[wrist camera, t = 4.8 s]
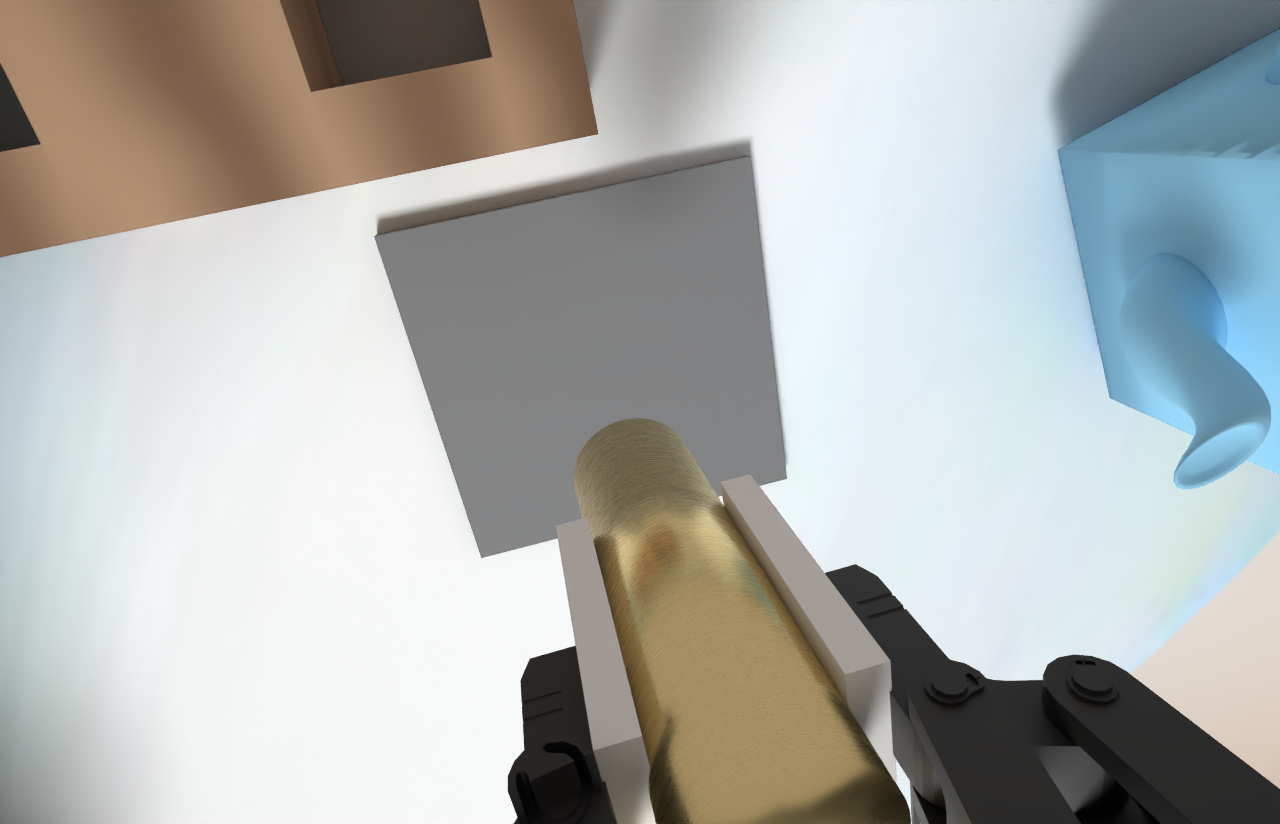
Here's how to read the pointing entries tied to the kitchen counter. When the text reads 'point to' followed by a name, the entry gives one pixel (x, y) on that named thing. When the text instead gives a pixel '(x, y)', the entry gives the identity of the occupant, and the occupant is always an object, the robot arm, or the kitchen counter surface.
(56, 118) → the hole block
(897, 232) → the kitchen counter surface
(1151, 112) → the teakettle
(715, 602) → the peg
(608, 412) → the mat
